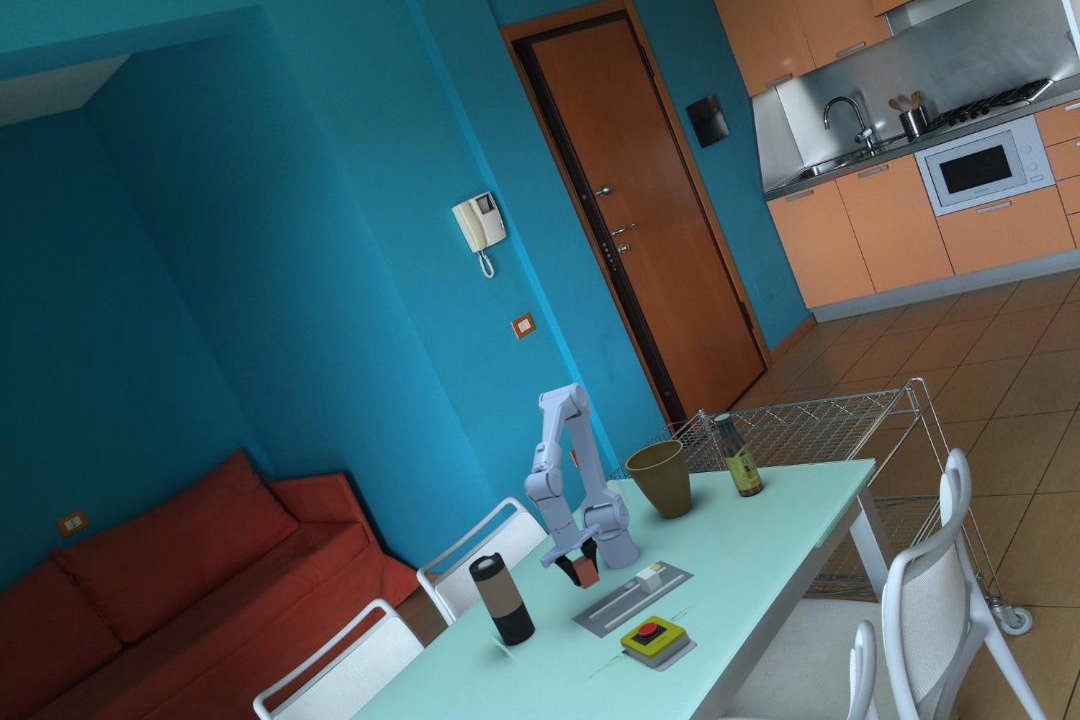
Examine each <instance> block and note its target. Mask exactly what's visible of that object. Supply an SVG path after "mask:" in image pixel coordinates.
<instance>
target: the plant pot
mask: <svg viewBox="0 0 1080 720" xmlns="http://www.w3.org/2000/svg"><path fill="white" fill-rule="evenodd" d="M688 467H689V466H688V462H687V457H686V452H685V449H684V445H683V442H682V441H680V440H676V439H675V440H664V441H660V442H656V443H654V444H651V445H649V446H646V447H644V448H642V449H640V450H638V451H637V452H635V453H633V454H632V456H630V457H629V458H628V459H627V461H626V462H625V468H626V470H627V471H628V473H629V475H630V476H631V477H632V479H633V482H634V483H635V484H636V485H637V487H638V488H639V490H640V491H641V493H642V494H643V495H644V496H645V498H646V499H647V500H648V502H649V503H651V505H652V506H653V507H654V508H655V509H656V511H657V512H659V514H660V515H661V516H662V517H663V518H665V519H674V518H677V517H680V516H683V515H685V514H686V513H687V512H689V510H690V509H691V507H692V498H691V497H692V493H691V491H692V489H691V481H690V473H689V468H688Z"/></svg>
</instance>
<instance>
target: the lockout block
mask: <svg viewBox="0 0 1080 720" xmlns="http://www.w3.org/2000/svg"><path fill="white" fill-rule="evenodd" d="M572 564H573V567H574V570H575V573H576V575H577V577H578V579H579V580H580V583H581V586H579V587H578V588H581V589H583V590H585V591H586V590H587V589H588V588H590V587H592V586H594V585H595V584H597V582H599V581H601V577H600V576H599V574H598V573H597V571H596V569H595V567H594V565H593V562H592V560H591V559H589V558H587V557H585V556H584V555H583V554H582V555H581V556H579V557H578V558H575V560H572Z"/></svg>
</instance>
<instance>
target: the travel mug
mask: <svg viewBox="0 0 1080 720" xmlns="http://www.w3.org/2000/svg"><path fill="white" fill-rule="evenodd" d="M468 572H469V574H470V576H471V579H472V580H473V582H474V584H475V587H476V589H477V590H478V593H479V595H480V597H481V599H482V601H483V604H484V606H485V607H486V610H487V612H488V614H489V617H490V618H491V620H492V622H493V624H494V625H495V628H496V629H497V632H498V633H499V635H500V637H501V638H502V640H503V643H504V644H505V646H509V647H514V646H518V645H520V644H522V643H524V642H526V641H527V640H529V639H530V638H532V637H533V636H534V633H535V631H536V627H535V624H534V622H533V620H532V618H531V615H530V613H529V611H528V608H527V607H526V604H525V602H524V600H523V598H522V597H523V596H522V595H521V593H520V592H519V589H518V587H517V586H516V583H515V581H514V579H513V577H512V575H511V573H510V571H509V569H508V567H507V565H506V563H505V561H504V559H503V556H502V555H501V553H500V552H494V553H493V554H491V555H481V556H480V557H478V558H477V559H475V560H473V561H472V563H471V564H470V565H469V566H468Z"/></svg>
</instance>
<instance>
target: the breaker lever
mask: <svg viewBox="0 0 1080 720" xmlns="http://www.w3.org/2000/svg"><path fill="white" fill-rule="evenodd" d="M635 577H637V580H638V582H639V584H640V586H641V589H642V591H643V592H645V593H647V594H649V595H652V594H653V593H654V592H656V591H657V590H659V589H660V588H662V587H663V584H662V582H661V579H660V577H659V575H658V573H657V572H656V571H653V570H651V569H649V568H648V567H645V568H644V569H642V570H641V571H639V572H638V573H636V574H635Z"/></svg>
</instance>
